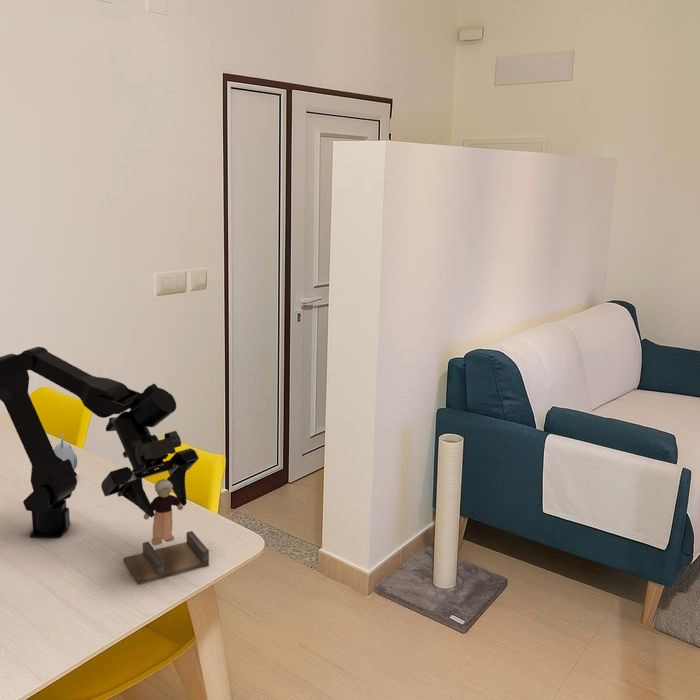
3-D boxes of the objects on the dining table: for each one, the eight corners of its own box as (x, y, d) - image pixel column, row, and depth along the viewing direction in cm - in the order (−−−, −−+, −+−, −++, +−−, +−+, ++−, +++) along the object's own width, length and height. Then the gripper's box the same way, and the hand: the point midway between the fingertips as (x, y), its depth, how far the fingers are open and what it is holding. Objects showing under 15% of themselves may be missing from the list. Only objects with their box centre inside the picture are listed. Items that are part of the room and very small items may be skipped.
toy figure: (77, 488, 176) (75, 442, 173) (50, 491, 174) (47, 444, 171) (78, 471, 186) (76, 426, 183) (52, 473, 184) (49, 428, 181)
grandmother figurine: (153, 550, 137) (151, 488, 134) (141, 542, 140) (140, 481, 136) (187, 536, 143) (186, 476, 140) (176, 529, 145) (175, 470, 142)
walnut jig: (138, 584, 138) (137, 568, 137) (123, 561, 145) (122, 546, 144) (208, 565, 145) (208, 550, 144) (191, 544, 153) (191, 529, 152)
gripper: (107, 431, 131) (141, 508, 127) (193, 410, 145) (227, 479, 140) (87, 458, 138) (119, 532, 134) (171, 435, 152) (202, 502, 147)
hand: (169, 510), depth 139 cm, fingers closed on grandmother figurine, 7 cm apart
